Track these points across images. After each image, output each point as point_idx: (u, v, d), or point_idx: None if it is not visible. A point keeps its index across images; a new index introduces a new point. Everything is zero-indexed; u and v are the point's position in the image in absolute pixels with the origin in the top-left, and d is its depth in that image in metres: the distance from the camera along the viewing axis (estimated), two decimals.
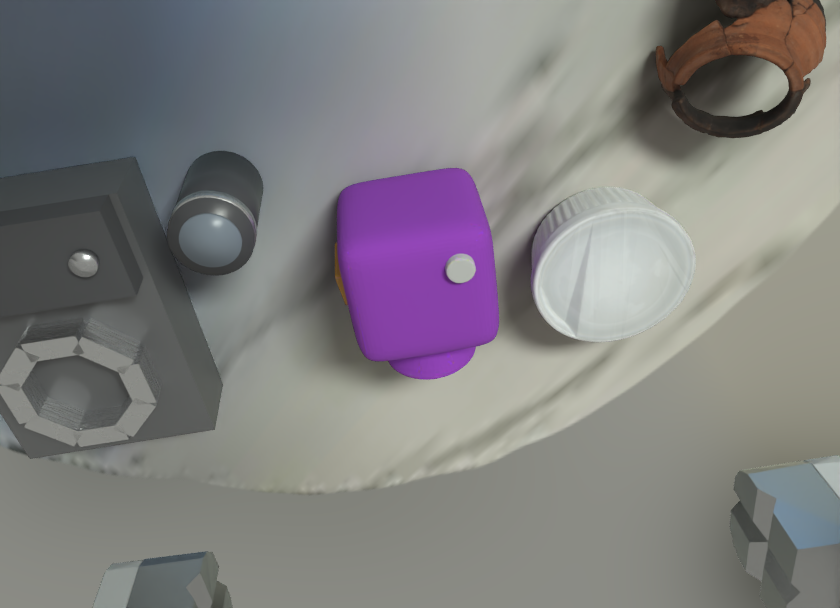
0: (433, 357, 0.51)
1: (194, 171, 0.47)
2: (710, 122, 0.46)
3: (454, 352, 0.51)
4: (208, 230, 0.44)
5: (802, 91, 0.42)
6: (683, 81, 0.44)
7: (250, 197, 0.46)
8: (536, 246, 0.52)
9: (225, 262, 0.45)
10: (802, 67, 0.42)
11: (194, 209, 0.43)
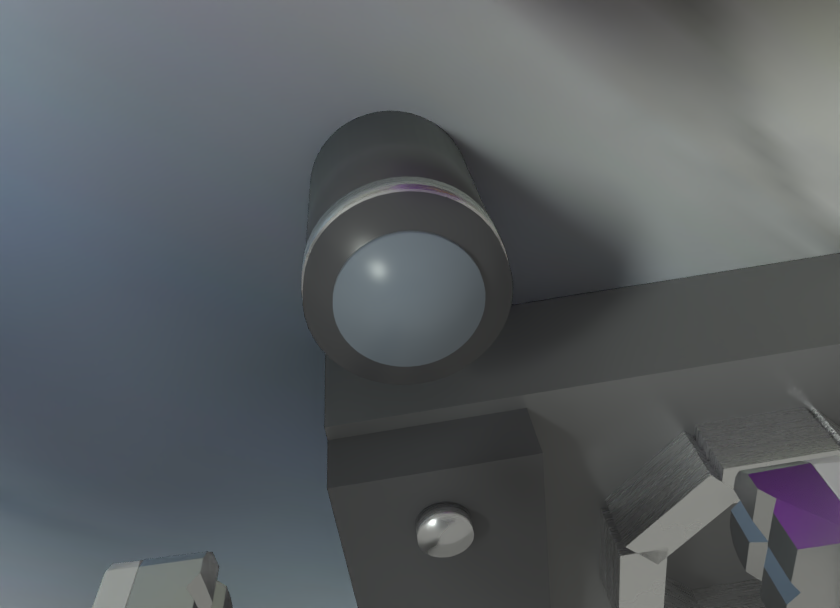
0: None
1: None
2: None
3: None
4: (377, 305, 0.17)
5: None
6: None
7: (350, 170, 0.19)
8: None
9: (474, 276, 0.17)
10: None
11: (322, 325, 0.18)
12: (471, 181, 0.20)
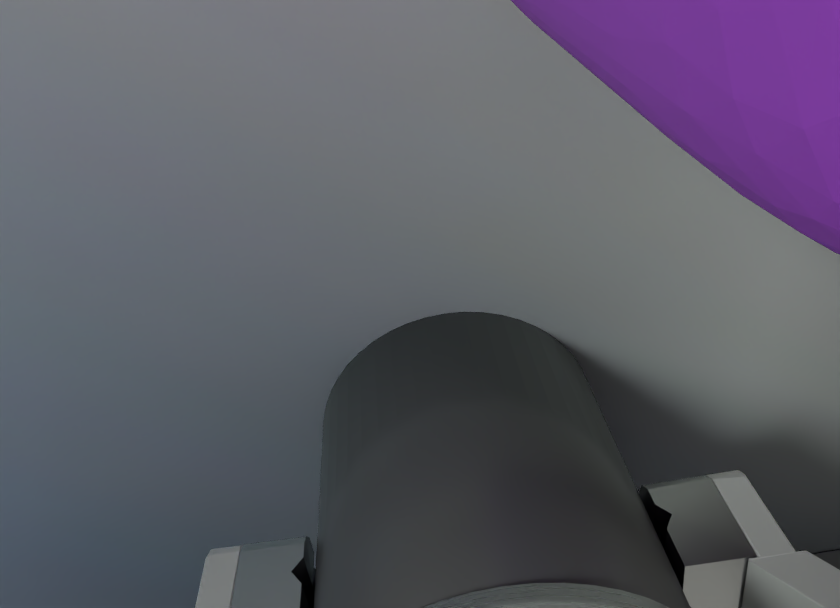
0: None
1: None
2: None
3: None
4: None
5: None
6: None
7: (406, 510, 0.09)
8: None
9: None
10: None
11: None
12: (633, 486, 0.11)
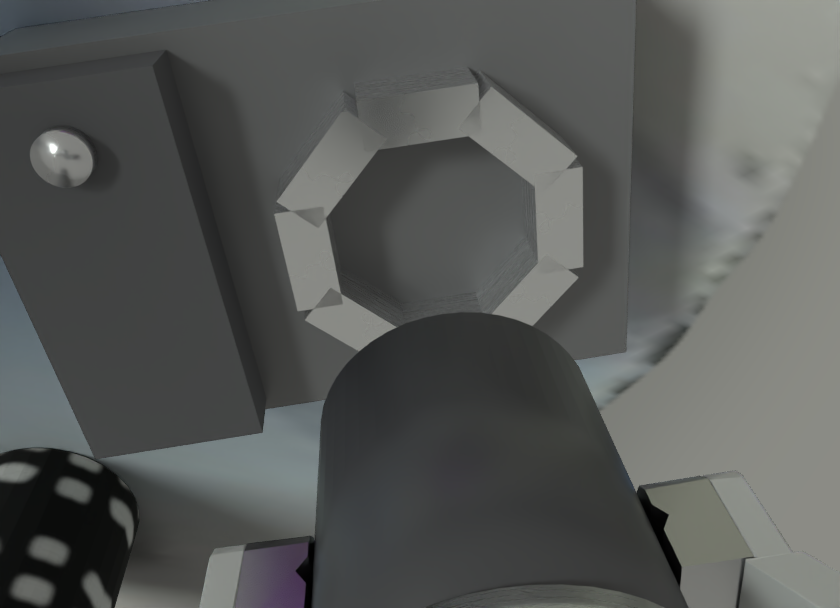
0: None
1: None
2: None
3: None
4: None
5: None
6: None
7: (404, 512, 0.09)
8: None
9: None
10: None
11: None
12: (631, 487, 0.11)
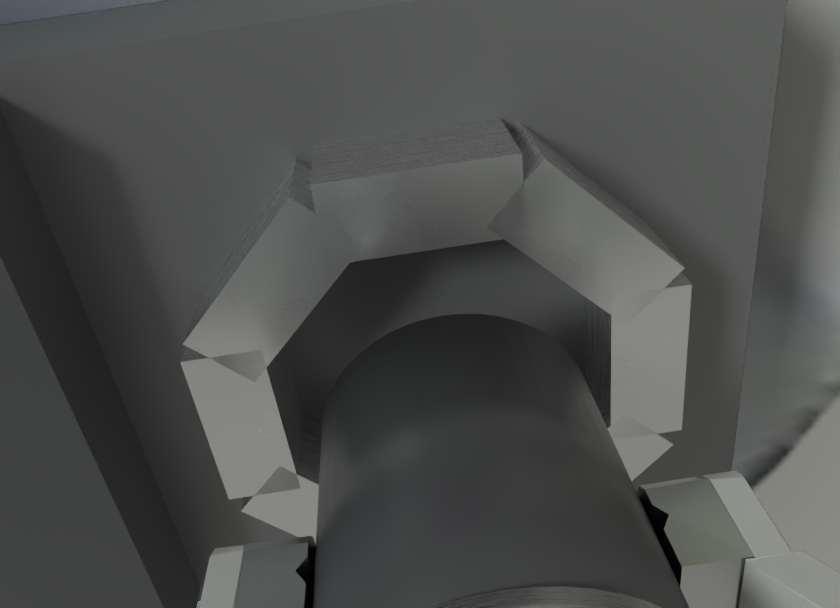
0: None
1: None
2: None
3: None
4: None
5: None
6: None
7: (406, 513, 0.09)
8: None
9: None
10: None
11: None
12: (632, 488, 0.11)
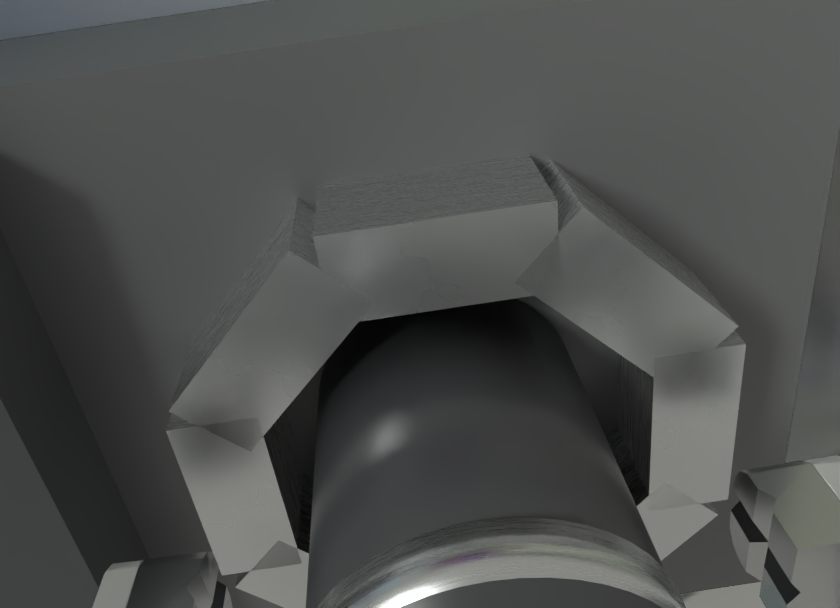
0: None
1: None
2: None
3: None
4: None
5: None
6: None
7: (394, 460, 0.10)
8: None
9: None
10: None
11: None
12: (606, 443, 0.11)
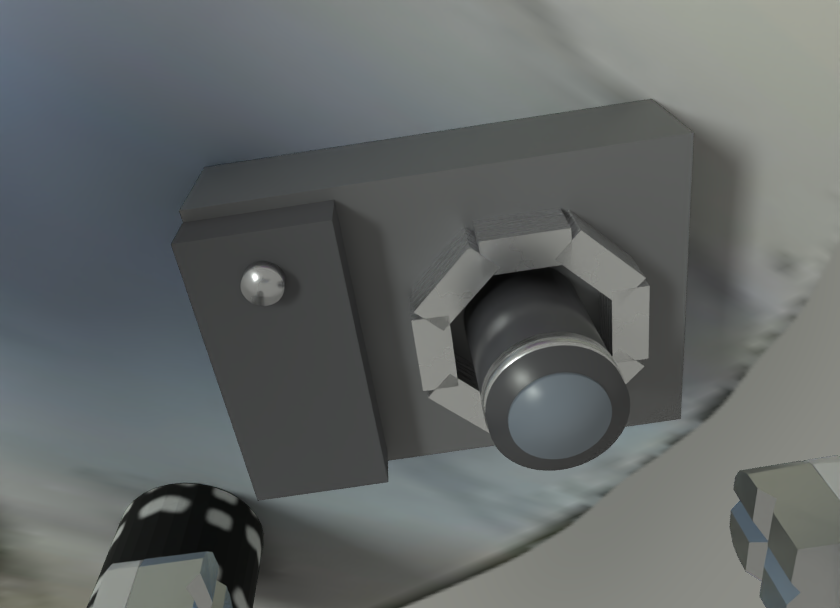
0: None
1: None
2: None
3: None
4: (538, 419, 0.26)
5: None
6: None
7: (514, 320, 0.27)
8: None
9: (605, 401, 0.26)
10: None
11: (499, 430, 0.26)
12: (592, 323, 0.29)
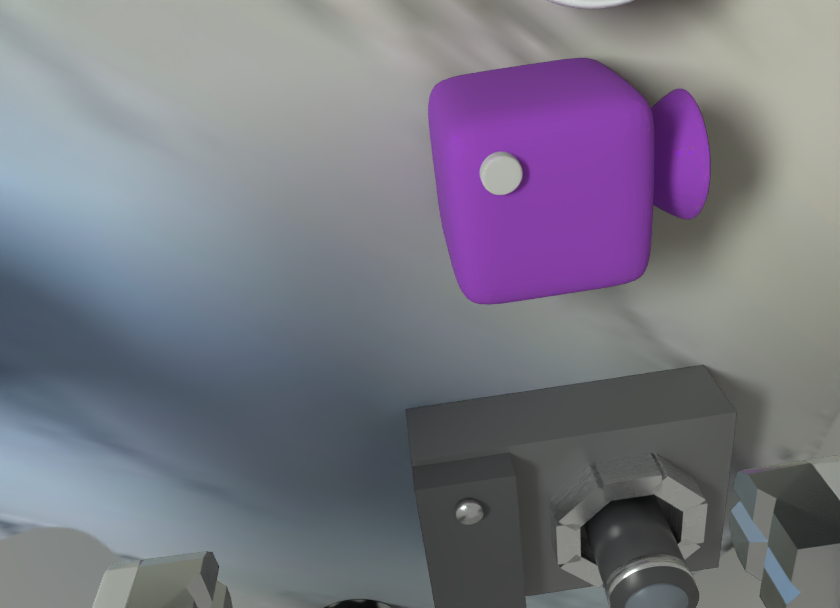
0: (676, 175, 0.35)
1: None
2: None
3: (678, 142, 0.34)
4: (643, 606, 0.43)
5: None
6: None
7: (628, 538, 0.44)
8: None
9: (684, 598, 0.43)
10: None
11: None
12: (672, 534, 0.46)
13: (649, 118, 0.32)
